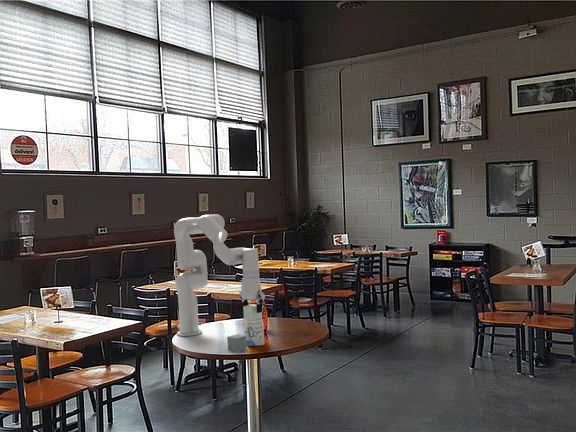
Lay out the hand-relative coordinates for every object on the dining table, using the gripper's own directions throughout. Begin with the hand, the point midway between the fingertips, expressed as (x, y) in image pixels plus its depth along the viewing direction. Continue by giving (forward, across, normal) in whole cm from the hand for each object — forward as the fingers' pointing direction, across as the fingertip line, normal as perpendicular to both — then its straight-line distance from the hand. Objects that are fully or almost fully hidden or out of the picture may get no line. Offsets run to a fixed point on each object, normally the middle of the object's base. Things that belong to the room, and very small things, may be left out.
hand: (252, 311), depth 268 cm
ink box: (+15, 0, 0) cm, 15 cm away
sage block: (+3, 0, 0) cm, 3 cm away
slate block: (+15, +2, -12) cm, 19 cm away
